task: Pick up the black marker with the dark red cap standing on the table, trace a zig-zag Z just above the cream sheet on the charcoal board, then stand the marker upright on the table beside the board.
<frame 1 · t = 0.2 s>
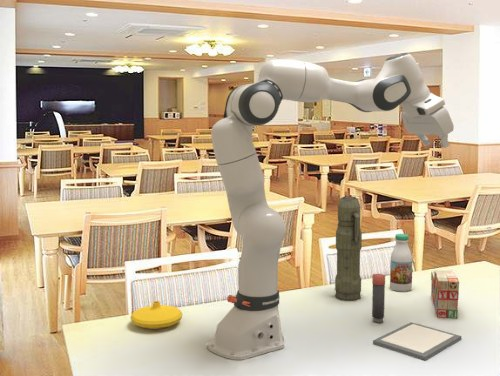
hand: (436, 145, 178), 54 cm above the table, tool tilted 30°, fingers open, 8 cm apart
writing board: (417, 341, 167), on the table
thermos: (347, 297, 207), on the table
marker: (378, 321, 184), on the table
yellow lid: (156, 325, 183), on the table
stack of blocks: (443, 308, 196), on the table
milk bottle: (400, 289, 216), on the table
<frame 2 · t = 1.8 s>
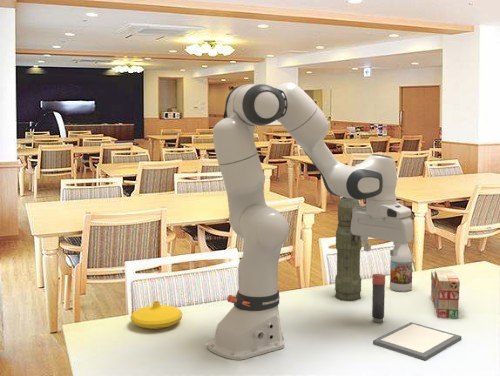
hand: (380, 253, 181), 21 cm above the table, tool pointing down, fingers open, 8 cm apart
nothing on the table moved.
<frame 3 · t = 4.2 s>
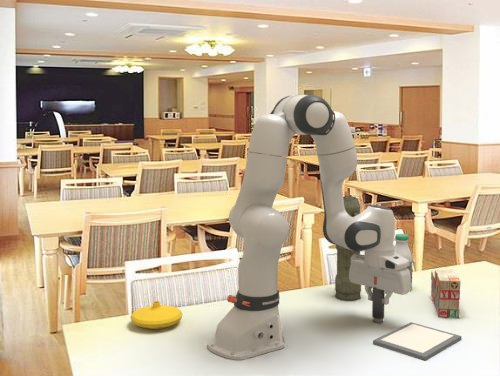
hand: (378, 302, 183), 6 cm above the table, tool pointing down, fingers closed on marker, 4 cm apart
marker: (378, 321, 184), on the table, touching gripper
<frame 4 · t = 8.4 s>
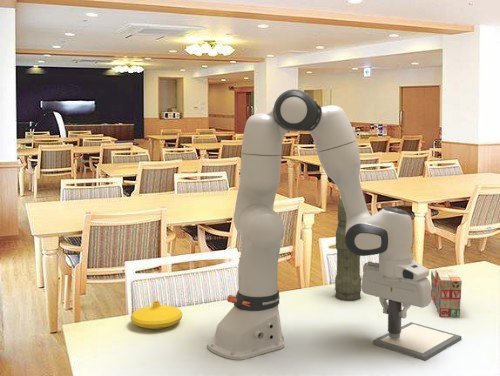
hand: (394, 315, 165), 8 cm above the table, tool pointing down, fingers closed on marker, 4 cm apart
marker: (394, 336, 166), point 2 cm above the table, touching gripper
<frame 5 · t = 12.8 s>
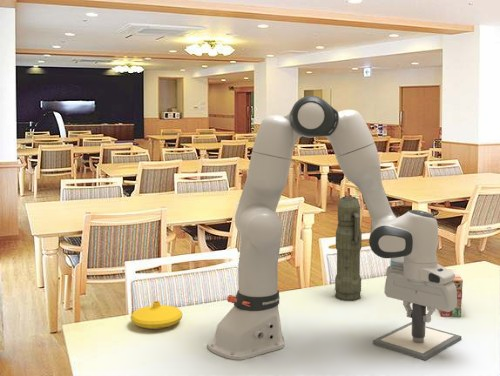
hand: (418, 319, 163), 8 cm above the table, tool pointing down, fingers closed on marker, 4 cm apart
marker: (418, 340, 164), point 1 cm above the table, touching gripper
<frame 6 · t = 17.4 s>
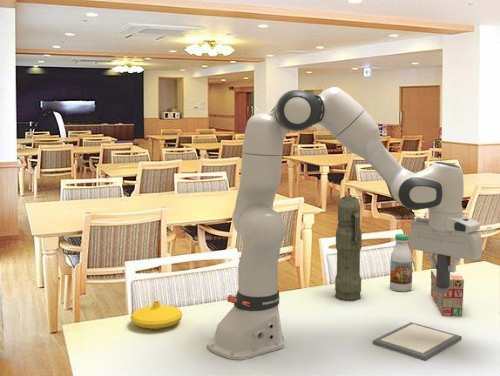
hand: (443, 270, 166), 20 cm above the table, tool pointing down, fingers closed on marker, 4 cm apart
marker: (442, 291, 167), point 14 cm above the table, touching gripper
when the fingers open (7 cm above the table, at t = 21.8 s): marker stays where it is, on the table.
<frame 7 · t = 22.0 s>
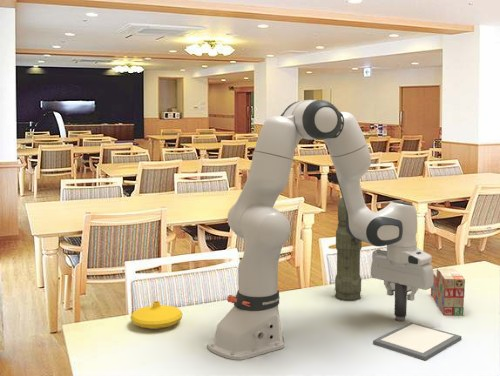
hand: (400, 297, 184), 7 cm above the table, tool pointing down, fingers open, 6 cm apart
marker: (400, 319, 185), on the table
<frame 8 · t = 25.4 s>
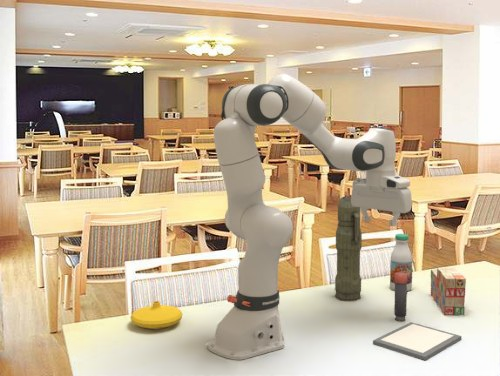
hand: (379, 223, 187), 29 cm above the table, tool pointing down, fingers open, 8 cm apart
at the end: marker inside the target area (0.1 cm from its centre), on the table; marker tilted 0°; the gripper is holding nothing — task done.
